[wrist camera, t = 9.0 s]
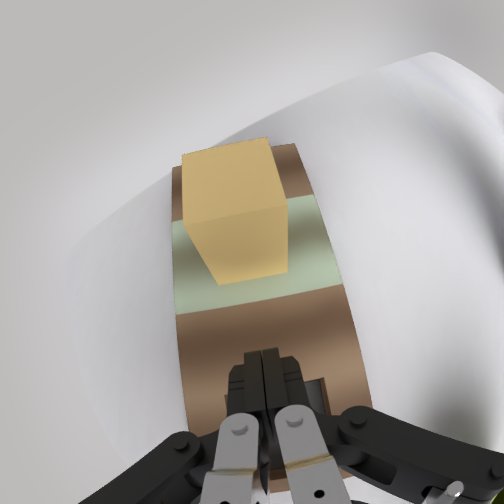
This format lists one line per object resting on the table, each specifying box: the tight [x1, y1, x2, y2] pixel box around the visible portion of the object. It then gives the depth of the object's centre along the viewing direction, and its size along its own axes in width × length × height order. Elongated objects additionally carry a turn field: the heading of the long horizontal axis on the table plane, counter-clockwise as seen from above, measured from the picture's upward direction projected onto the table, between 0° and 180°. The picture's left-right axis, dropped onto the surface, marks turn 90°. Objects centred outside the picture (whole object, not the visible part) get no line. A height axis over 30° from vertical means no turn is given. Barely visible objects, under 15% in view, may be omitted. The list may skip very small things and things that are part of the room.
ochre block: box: [182, 137, 288, 285], centre depth 18 cm, size 5×5×8 cm
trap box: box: [172, 143, 373, 493], centre depth 21 cm, size 28×12×3 cm, turn 9°
